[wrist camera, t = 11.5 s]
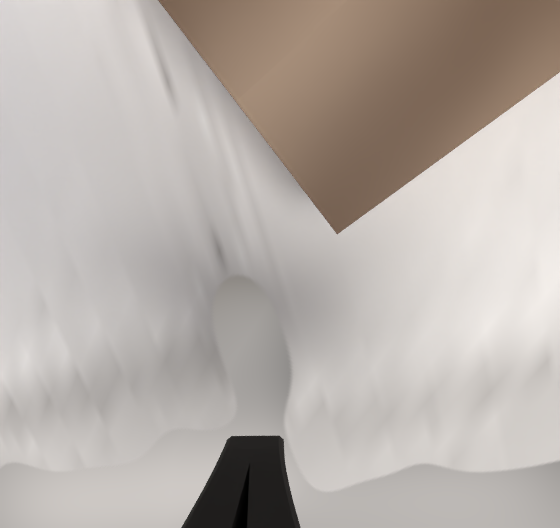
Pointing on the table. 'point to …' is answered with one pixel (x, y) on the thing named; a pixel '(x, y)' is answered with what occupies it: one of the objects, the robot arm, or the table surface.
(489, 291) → the table surface
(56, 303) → the table surface
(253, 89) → the socket block
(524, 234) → the table surface
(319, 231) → the table surface
